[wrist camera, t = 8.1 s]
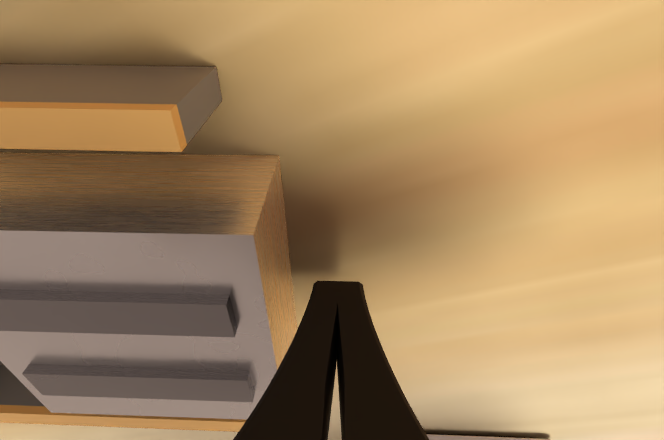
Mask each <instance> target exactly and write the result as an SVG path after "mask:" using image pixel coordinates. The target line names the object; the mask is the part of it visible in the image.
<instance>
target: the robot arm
mask: <svg viewBox="0 0 664 440" xmlns="http://www.w3.org/2000/svg"><path fill="white" fill-rule="evenodd" d="M336 362H337V369H338V385H339V401H340V417H341V432H342V440H550V439H536V438H510V437H485V436H459V435H433V434H426V433H425V431H424V430H423V428H422V426H421V425H420V423H419V421H418V419H417V418H416V416H415V414H414V412H413V410H412V409H411V407H410V405H409V403H408V401H407V399H406V397H405V395H404V393H403V392H402V390H401V388H400V386H399V384H398V382H397V379H396V377H395V375H394V373H393V371H392V369H391V367H390V365H389V362H388V360H387V358H386V355H385V353H384V351H383V348H382V346H381V343H380V341H379V338H378V336H377V333H376V331H375V328H374V325H373V322H372V319H371V316H370V313H369V310H368V307H367V303H366V299H365V295H364V290H363V285H362V284H361V283H360V282H344V281H317V282H315V283H314V285H313V289H312V293H311V296H310V300H309V302H308V305H307V308H306V311H305V313H304V316H303V318H302V321H301V323H300V325H299V327H298V329H297V332H296V334H295V336H294V338H293V340H292V343H291V345H290V347H289V349H288V351H287V353H286V354H285V356H284V358H283V360H282V362H281V364H280V366H279V368H278V370H277V371H276V373H275V375H274V377H273V379H272V380H271V382H270V384H269V385H268V387H267V389H266V390H265V392H264V394H263V395H262V397H261V399H260V400H259V402H258V403H257V405H256V407H255V408H254V410H253V411H252V413H251V414H250V416H249V417H248V419H247V420H246V422H245V423H244V425H243V426H242V428H241V429H240V431H239V432H238V434H237V435H236V437H235V438H234V439H233V440H328V431H329V422H330V414H331V405H332V397H333V388H334V379H335V371H336Z"/></svg>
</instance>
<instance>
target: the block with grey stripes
mask: <svg viewBox="0 0 664 440" xmlns="http://www.w3.org/2000/svg"><path fill="white" fill-rule="evenodd" d="M296 332H297V324H296V314H295V305H294V295H293V285H292V276H291V266H290V256H289V247H288V237H287V227H286V218H285V208H284V198H283V189H282V179H281V169H280V160H279V155H196V154H104V153H12V152H0V361H1V362H2V363H3V364H4V365H5V366H6V367H7V368H8V369H9V370H10V371H11V372H12V373H13V374H14V375H15V376H16V378H17V379H18V380H19V381H20V382H21V383H22V384H23V385H24V386H25V387H26V388H27V389H28V390H29V391H30V392H31V393H32V394H33V395H34V396H35V397H36V398H37V399H38V400H39V401H40V402H41V403H42V404H43V405H44V406H45V407H46V408H47V409H48V410H49V411H50V412H51V413H76V414H105V415H133V416H161V417H190V418H218V419H248V417H249V416H250V414H251V413H252V411H253V410H254V408H255V407H256V405H257V403H258V402H259V400H260V399H261V397H262V395H263V394H264V392H265V390H266V389H267V387H268V385H269V384H270V382H271V380H272V379H273V377H274V375H275V373H276V371H277V370H278V368H279V366H280V364H281V362H282V360H283V358H284V356H285V354H286V353H287V351H288V349H289V347H290V345H291V343H292V340H293V338H294V336H295V334H296Z"/></svg>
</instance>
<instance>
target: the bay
mask: <svg viewBox="0 0 664 440" xmlns="http://www.w3.org/2000/svg"><path fill="white" fill-rule="evenodd" d="M221 101H222V96H221V91H220V85H219V79H218V74H217V68H216V67H206V66H130V65H54V64H0V149H46V150H98V151H149V152H182V151H183V150H184V148H185V147H186V146H187V145H188V143H189V142H190V141H191V139H192V138H193V137H194V136H195V134H196V133H197V132H198V131H199V129H200V128H201V127H202V126H203V124H204V123H205V122H206V120H207V119H208V118H209V117H210V115H211V114H212V113H213V112H214V110H215V109H216V108H217V107H218V105H219V104H220V103H221ZM246 420H247V419H218V418H190V417H161V416H133V415H105V414H76V413H51V412H50V411H49V410H48V409H47V408H46V407H45V406H44V405H43V404H42V403H41V402H40V401H39V400H38V399H37V398H36V397H35V396H34V395H33V394H32V393H31V392H30V391H29V390H28V389H27V388H26V387H25V386H24V385H23V384H22V383H21V382H20V381H19V380H18V379H17V378H16V376H15V375H14V374H13V373H12V372H11V371H10V370H9V369H8V368H7V367H6V366H5V365H4V364H3V363H2V362H1V361H0V422H4V423H29V424H55V425H80V426H106V427H131V428H157V429H182V430H208V431H233V432H239V431H240V429H241V428H242V426H243V425H244V423H245V422H246Z"/></svg>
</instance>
